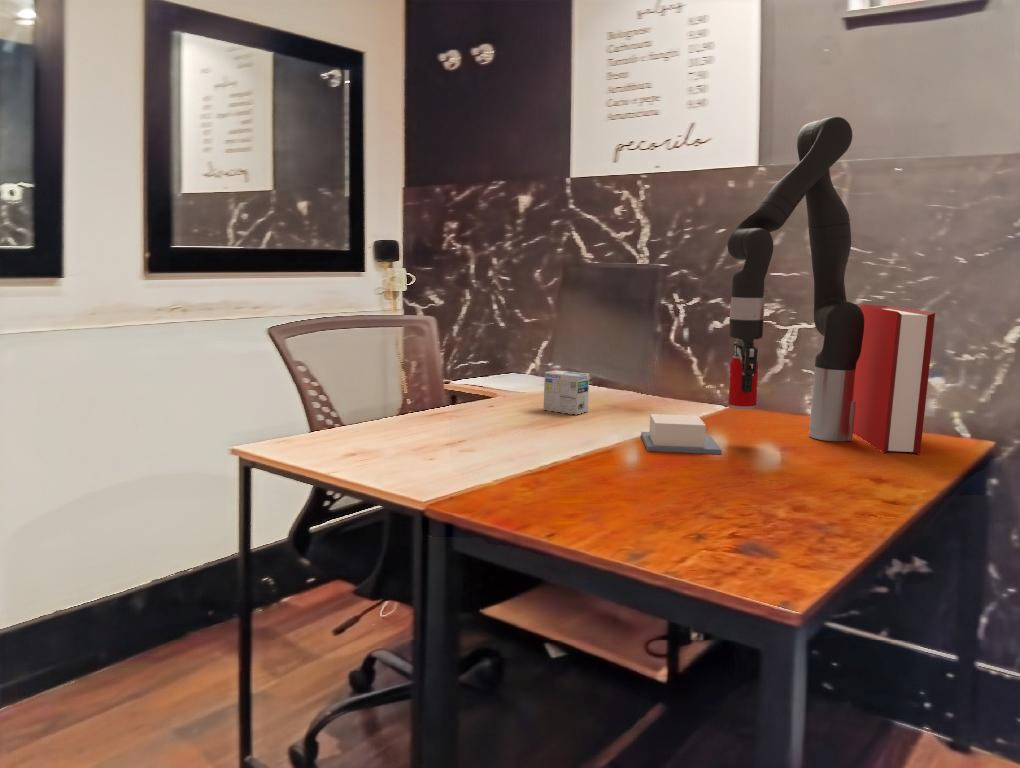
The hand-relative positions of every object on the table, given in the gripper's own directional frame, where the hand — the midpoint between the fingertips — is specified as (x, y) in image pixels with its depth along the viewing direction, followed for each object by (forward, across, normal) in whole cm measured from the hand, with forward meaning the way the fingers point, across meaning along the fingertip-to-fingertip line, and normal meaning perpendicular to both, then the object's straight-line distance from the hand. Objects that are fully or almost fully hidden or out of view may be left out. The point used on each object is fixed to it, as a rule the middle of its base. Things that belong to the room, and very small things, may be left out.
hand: (743, 389), depth 194 cm
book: (+14, +9, -35) cm, 39 cm away
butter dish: (+12, -5, +15) cm, 20 cm away
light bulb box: (+12, +32, +40) cm, 53 cm away
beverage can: (+4, 0, 0) cm, 4 cm away
